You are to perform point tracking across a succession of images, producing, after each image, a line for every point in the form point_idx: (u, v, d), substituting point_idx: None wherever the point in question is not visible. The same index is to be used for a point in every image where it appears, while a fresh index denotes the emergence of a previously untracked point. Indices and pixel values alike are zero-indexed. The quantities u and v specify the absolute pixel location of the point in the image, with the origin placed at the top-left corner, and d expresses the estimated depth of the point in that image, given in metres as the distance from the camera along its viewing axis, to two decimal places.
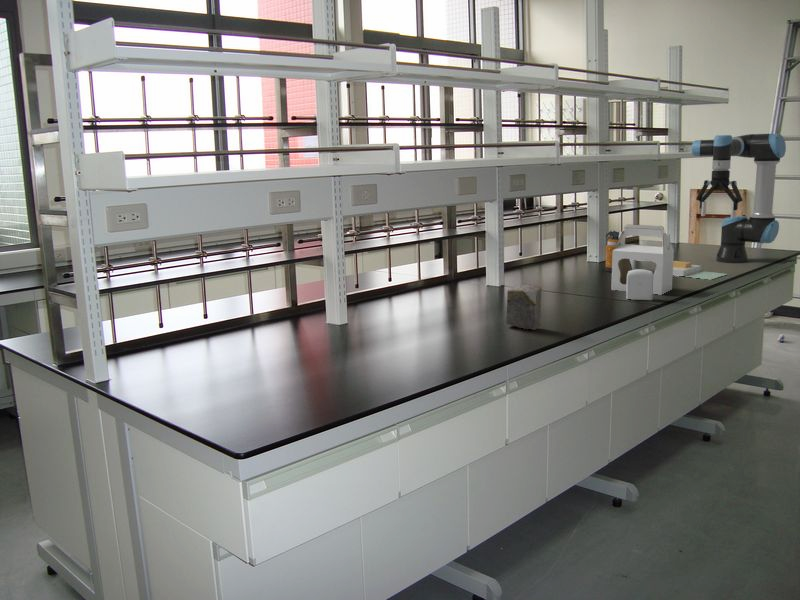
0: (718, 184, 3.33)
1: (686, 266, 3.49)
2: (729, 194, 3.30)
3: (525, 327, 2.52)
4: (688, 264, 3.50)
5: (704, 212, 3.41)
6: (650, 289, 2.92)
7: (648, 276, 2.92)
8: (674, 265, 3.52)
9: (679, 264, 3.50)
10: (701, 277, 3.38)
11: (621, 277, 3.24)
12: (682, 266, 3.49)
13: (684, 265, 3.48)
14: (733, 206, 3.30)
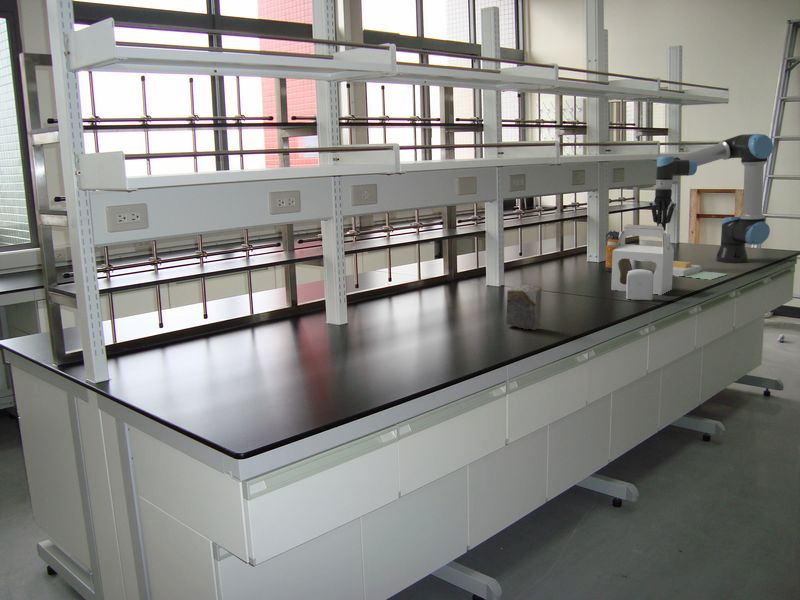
0: (661, 200, 3.53)
1: (686, 266, 3.49)
2: (663, 214, 3.53)
3: (525, 327, 2.52)
4: (688, 264, 3.50)
5: None
6: (650, 289, 2.92)
7: (648, 276, 2.92)
8: (674, 265, 3.52)
9: (679, 264, 3.50)
10: (701, 277, 3.38)
11: (621, 277, 3.24)
12: (682, 266, 3.49)
13: (684, 265, 3.48)
14: None
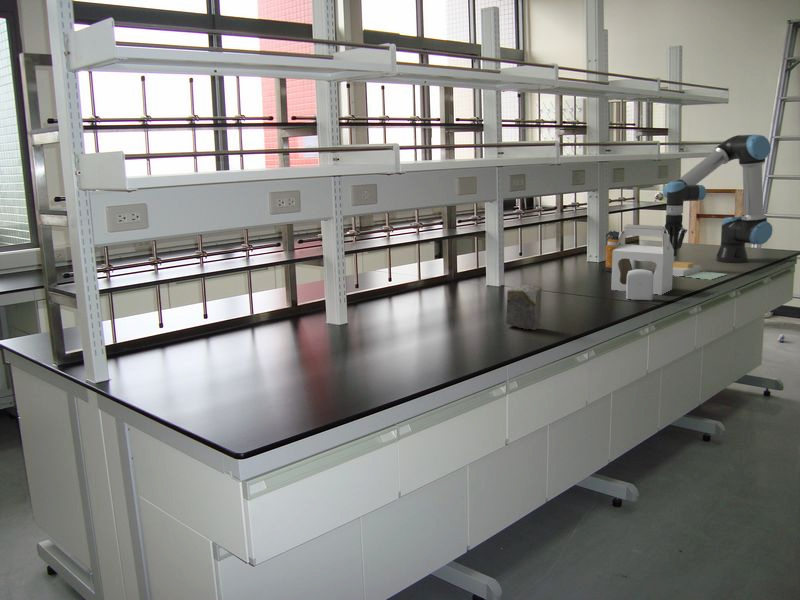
0: (671, 226, 3.52)
1: (688, 266, 3.48)
2: (674, 240, 3.52)
3: (525, 327, 2.52)
4: (690, 264, 3.49)
5: None
6: (650, 289, 2.92)
7: (648, 276, 2.92)
8: (676, 265, 3.51)
9: (681, 264, 3.49)
10: (701, 277, 3.38)
11: (621, 277, 3.24)
12: (684, 266, 3.48)
13: (686, 265, 3.47)
14: None
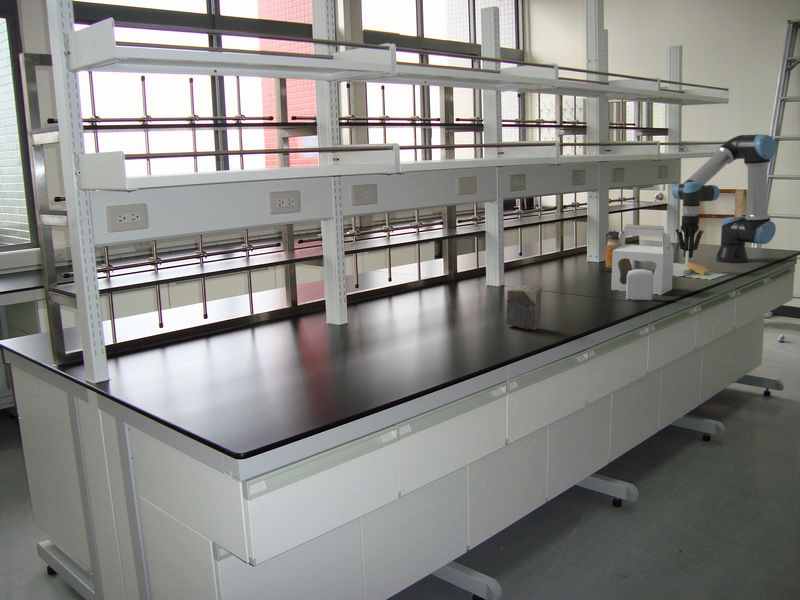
0: (687, 227, 3.46)
1: (704, 274, 3.43)
2: (690, 241, 3.46)
3: (525, 327, 2.52)
4: (706, 272, 3.44)
5: None
6: (650, 289, 2.92)
7: (648, 276, 2.92)
8: (693, 268, 3.45)
9: (698, 269, 3.43)
10: (701, 277, 3.38)
11: (621, 277, 3.24)
12: (700, 272, 3.43)
13: (702, 272, 3.42)
14: (688, 254, 3.48)
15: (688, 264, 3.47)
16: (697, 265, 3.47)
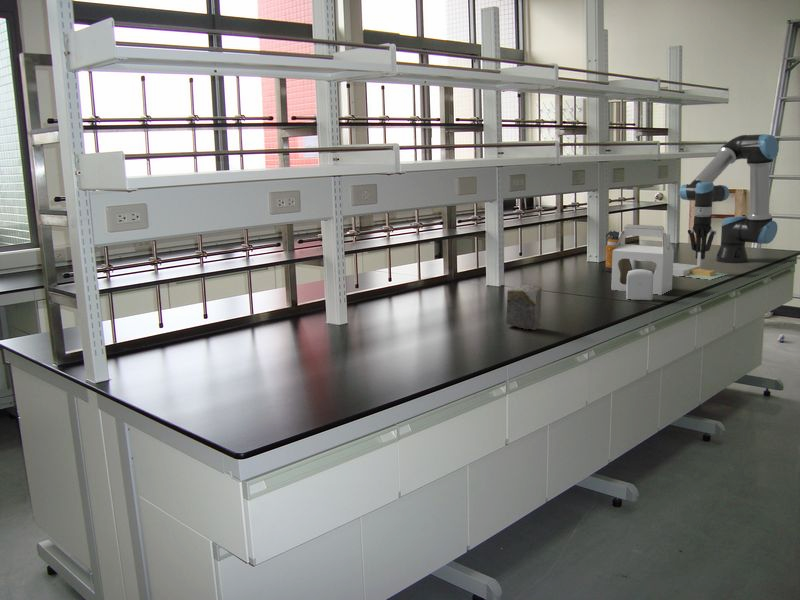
0: (700, 228, 3.42)
1: (710, 274, 3.40)
2: (702, 242, 3.42)
3: (525, 327, 2.52)
4: (712, 272, 3.42)
5: None
6: (650, 289, 2.92)
7: (648, 276, 2.92)
8: (698, 273, 3.44)
9: (703, 272, 3.42)
10: (701, 277, 3.38)
11: (621, 277, 3.24)
12: (706, 274, 3.41)
13: (708, 273, 3.40)
14: (700, 255, 3.43)
15: (692, 271, 3.46)
16: (701, 270, 3.45)
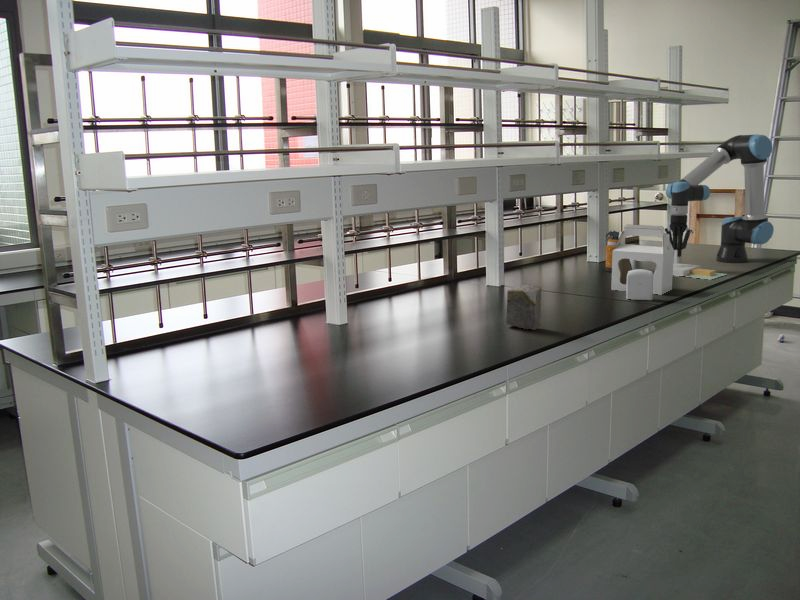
0: (676, 226, 3.50)
1: (710, 274, 3.40)
2: (679, 240, 3.50)
3: (525, 327, 2.52)
4: (712, 272, 3.42)
5: None
6: (650, 289, 2.92)
7: (648, 276, 2.92)
8: (698, 273, 3.44)
9: (703, 272, 3.42)
10: (701, 277, 3.38)
11: (621, 277, 3.24)
12: (706, 274, 3.41)
13: (708, 273, 3.40)
14: (677, 253, 3.52)
15: (692, 271, 3.46)
16: (701, 270, 3.45)
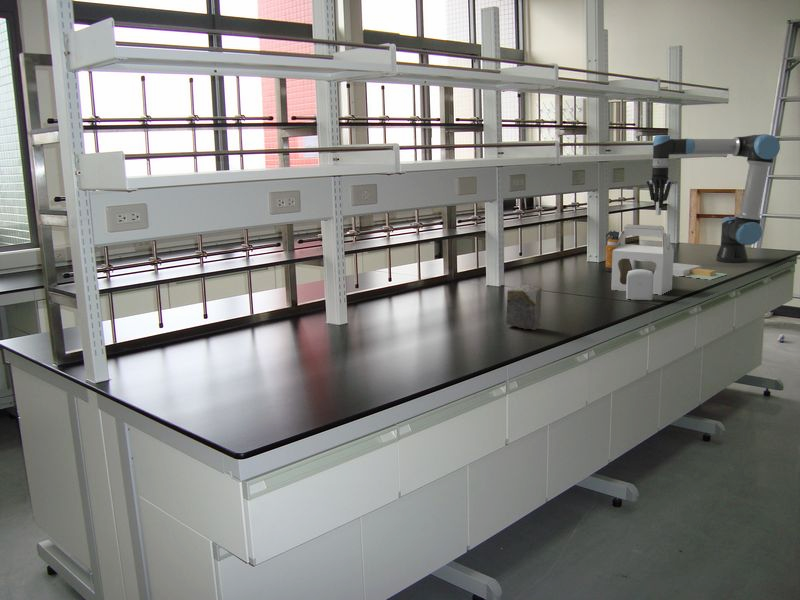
0: (658, 179, 3.63)
1: (710, 274, 3.40)
2: (660, 192, 3.63)
3: (525, 327, 2.52)
4: (712, 272, 3.42)
5: None
6: (650, 289, 2.92)
7: (648, 276, 2.92)
8: (698, 273, 3.44)
9: (703, 272, 3.42)
10: (701, 277, 3.38)
11: (621, 277, 3.24)
12: (706, 274, 3.41)
13: (708, 273, 3.40)
14: (659, 205, 3.65)
15: (692, 271, 3.46)
16: (701, 270, 3.45)
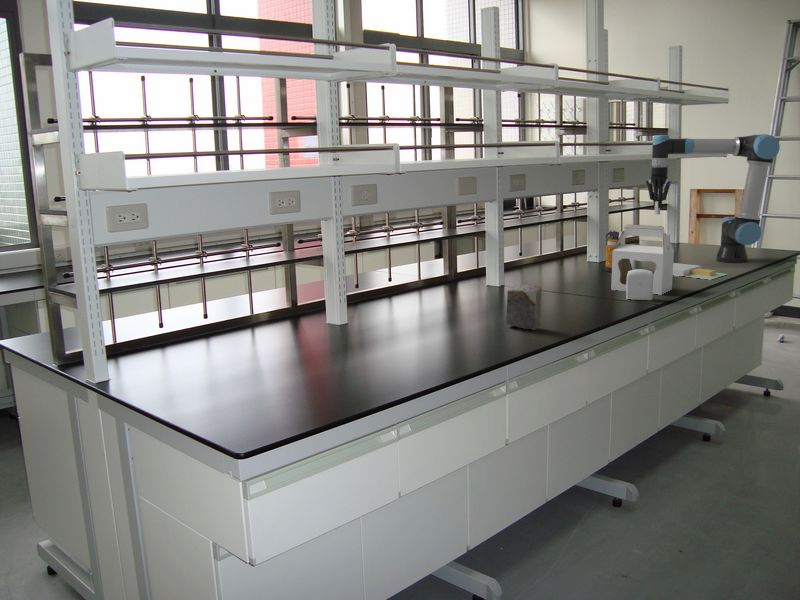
0: (657, 178, 3.64)
1: (710, 274, 3.40)
2: (659, 191, 3.64)
3: (525, 327, 2.52)
4: (712, 272, 3.42)
5: None
6: (650, 289, 2.92)
7: (648, 276, 2.92)
8: (698, 273, 3.44)
9: (703, 272, 3.42)
10: (701, 277, 3.38)
11: (621, 277, 3.24)
12: (706, 274, 3.41)
13: (708, 273, 3.40)
14: (658, 204, 3.66)
15: (692, 271, 3.46)
16: (701, 270, 3.45)
